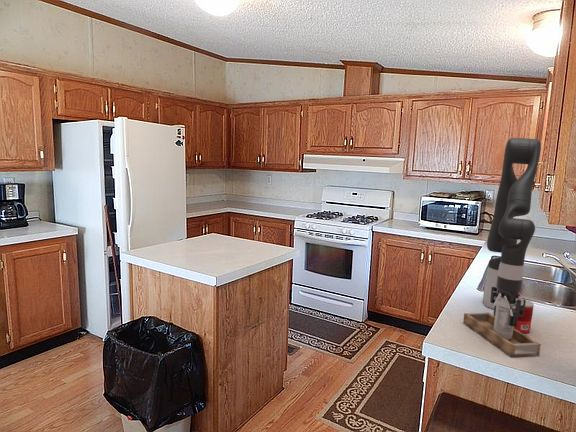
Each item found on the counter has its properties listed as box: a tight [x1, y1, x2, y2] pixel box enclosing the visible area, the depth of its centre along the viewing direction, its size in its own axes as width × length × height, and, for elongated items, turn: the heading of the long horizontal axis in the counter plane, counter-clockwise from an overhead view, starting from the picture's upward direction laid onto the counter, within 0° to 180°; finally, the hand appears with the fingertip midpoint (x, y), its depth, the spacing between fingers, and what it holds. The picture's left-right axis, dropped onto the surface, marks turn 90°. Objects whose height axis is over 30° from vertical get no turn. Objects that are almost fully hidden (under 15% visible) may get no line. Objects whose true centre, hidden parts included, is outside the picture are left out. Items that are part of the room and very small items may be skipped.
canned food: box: [514, 299, 535, 335], centre depth 149 cm, size 8×8×11 cm
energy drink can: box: [493, 297, 516, 341], centre depth 139 cm, size 6×6×15 cm
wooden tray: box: [462, 312, 542, 358], centre depth 142 cm, size 26×10×4 cm, turn 10°
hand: (504, 321), depth 139 cm, fingers open, 7 cm apart
